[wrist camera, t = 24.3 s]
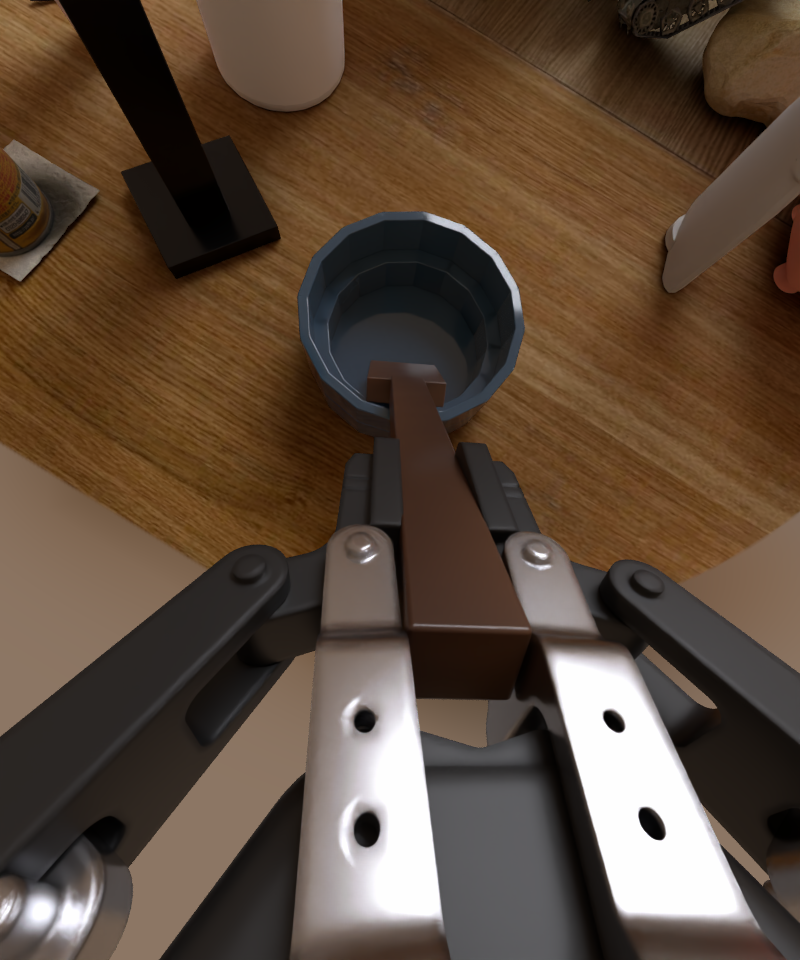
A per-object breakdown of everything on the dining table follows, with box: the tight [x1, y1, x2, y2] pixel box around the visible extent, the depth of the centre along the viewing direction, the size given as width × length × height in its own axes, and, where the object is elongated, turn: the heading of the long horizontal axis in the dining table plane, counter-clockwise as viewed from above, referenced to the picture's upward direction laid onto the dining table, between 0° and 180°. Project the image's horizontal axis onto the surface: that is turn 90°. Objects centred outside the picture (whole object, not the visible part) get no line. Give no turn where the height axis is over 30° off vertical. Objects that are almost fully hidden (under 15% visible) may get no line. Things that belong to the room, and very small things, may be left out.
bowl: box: [297, 212, 525, 438], centre depth 25 cm, size 13×13×6 cm
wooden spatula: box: [366, 360, 532, 700], centre depth 16 cm, size 4×23×2 cm
